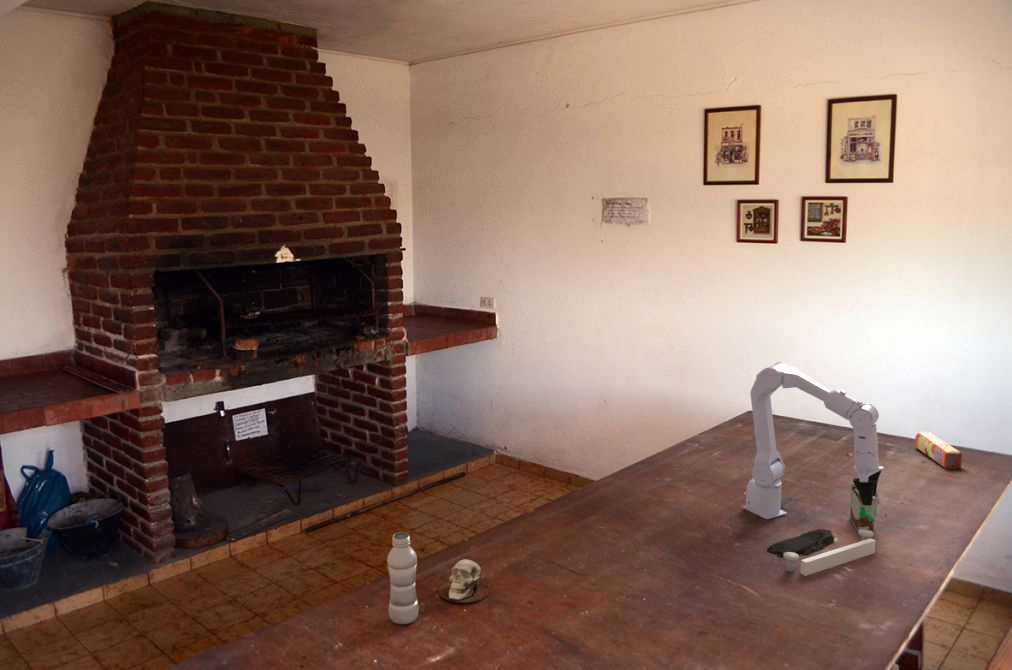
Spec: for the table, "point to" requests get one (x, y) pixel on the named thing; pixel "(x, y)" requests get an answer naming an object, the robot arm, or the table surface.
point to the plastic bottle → (402, 580)
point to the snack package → (938, 450)
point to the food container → (862, 510)
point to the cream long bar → (833, 555)
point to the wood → (803, 543)
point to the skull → (463, 583)
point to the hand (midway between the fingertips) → (869, 500)
